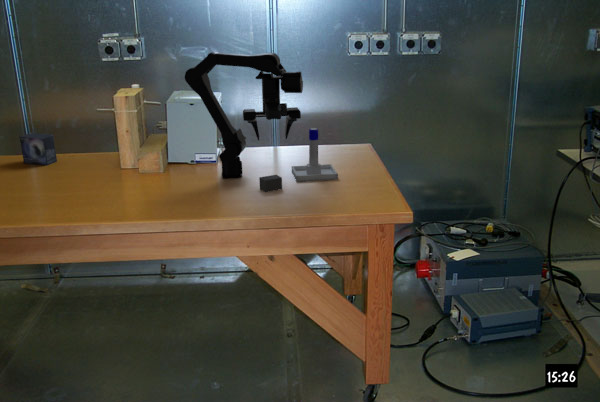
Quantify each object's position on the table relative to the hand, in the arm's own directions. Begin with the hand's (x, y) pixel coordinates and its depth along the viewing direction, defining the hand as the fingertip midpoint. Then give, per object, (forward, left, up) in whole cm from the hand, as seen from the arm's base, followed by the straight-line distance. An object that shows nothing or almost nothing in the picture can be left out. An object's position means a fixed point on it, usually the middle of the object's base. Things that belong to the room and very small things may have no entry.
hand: (272, 139), depth 208 cm
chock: (-2, -13, -13) cm, 19 cm away
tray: (+14, -1, -13) cm, 19 cm away
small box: (-84, +34, -13) cm, 92 cm away
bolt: (+14, -1, -13) cm, 19 cm away
